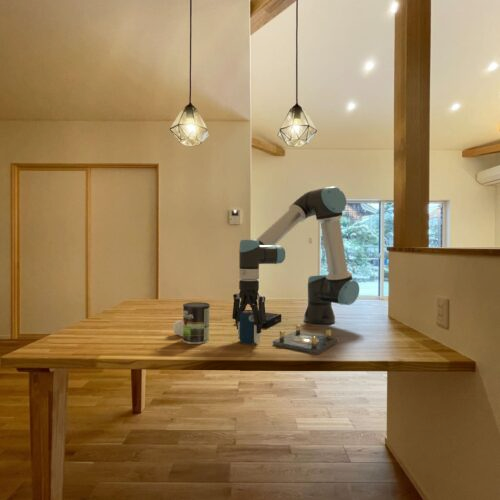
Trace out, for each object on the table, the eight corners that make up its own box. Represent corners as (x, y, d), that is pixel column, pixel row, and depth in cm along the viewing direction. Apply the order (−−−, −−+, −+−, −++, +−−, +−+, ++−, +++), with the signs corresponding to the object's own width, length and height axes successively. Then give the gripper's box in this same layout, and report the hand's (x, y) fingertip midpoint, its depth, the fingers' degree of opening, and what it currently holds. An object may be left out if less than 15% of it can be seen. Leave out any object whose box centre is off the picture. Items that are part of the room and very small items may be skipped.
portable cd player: (250, 318, 166) (251, 310, 166) (281, 322, 158) (281, 314, 158) (235, 325, 152) (235, 316, 152) (267, 329, 144) (267, 320, 144)
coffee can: (192, 346, 117) (193, 307, 117) (177, 340, 124) (177, 304, 124) (214, 340, 124) (215, 304, 124) (199, 335, 131) (199, 301, 131)
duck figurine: (202, 339, 133) (204, 315, 140) (200, 332, 127) (202, 307, 134) (173, 339, 132) (177, 315, 139) (170, 332, 126) (174, 306, 133)
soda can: (259, 344, 119) (259, 312, 119) (241, 345, 117) (241, 313, 117) (255, 339, 125) (255, 309, 125) (238, 340, 124) (238, 309, 124)
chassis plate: (295, 334, 133) (295, 322, 133) (337, 342, 122) (337, 329, 122) (272, 345, 118) (272, 331, 118) (317, 354, 108) (317, 340, 108)
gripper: (222, 278, 124) (222, 337, 124) (265, 282, 112) (264, 347, 112) (234, 277, 130) (234, 333, 130) (276, 280, 119) (276, 342, 119)
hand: (248, 339), depth 121 cm, fingers closed on soda can, 7 cm apart
